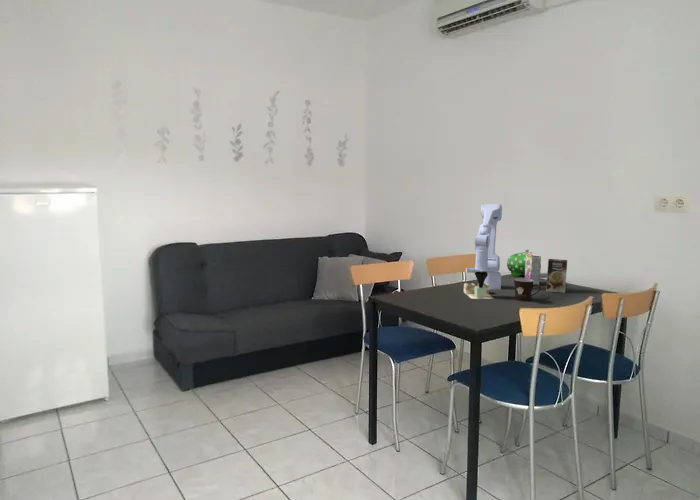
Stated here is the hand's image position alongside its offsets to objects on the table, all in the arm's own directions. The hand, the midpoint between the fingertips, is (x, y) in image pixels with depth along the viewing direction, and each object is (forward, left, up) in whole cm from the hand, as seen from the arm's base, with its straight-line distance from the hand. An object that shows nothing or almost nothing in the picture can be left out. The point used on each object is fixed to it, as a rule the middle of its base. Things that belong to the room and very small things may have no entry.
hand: (480, 287), depth 253 cm
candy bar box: (-37, -31, -5) cm, 49 cm away
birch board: (0, -3, -5) cm, 6 cm away
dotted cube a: (-4, -7, -4) cm, 9 cm away
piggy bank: (-40, -54, -5) cm, 67 cm away
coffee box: (-43, -14, -5) cm, 46 cm away
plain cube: (0, 0, -4) cm, 4 cm away
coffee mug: (-19, +8, -5) cm, 21 cm away
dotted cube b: (+3, -7, -4) cm, 9 cm away
